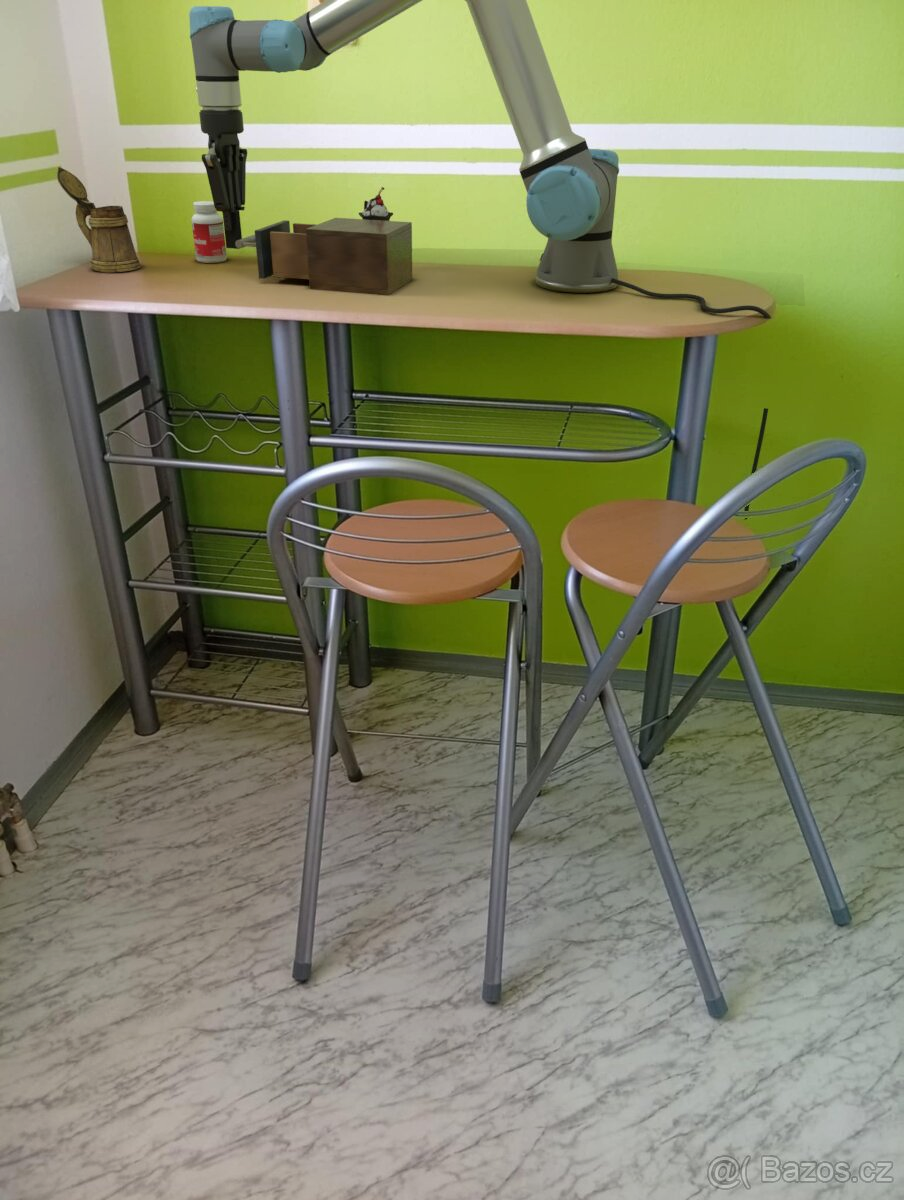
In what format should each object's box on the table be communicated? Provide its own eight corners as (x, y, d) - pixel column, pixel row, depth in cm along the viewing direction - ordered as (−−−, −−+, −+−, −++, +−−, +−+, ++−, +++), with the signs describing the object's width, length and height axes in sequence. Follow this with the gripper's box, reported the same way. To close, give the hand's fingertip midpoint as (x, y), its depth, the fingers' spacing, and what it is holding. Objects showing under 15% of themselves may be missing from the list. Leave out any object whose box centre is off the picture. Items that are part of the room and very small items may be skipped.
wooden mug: (88, 261, 192) (71, 164, 183) (148, 265, 189) (134, 166, 180) (63, 270, 185) (43, 169, 175) (125, 274, 182) (108, 172, 173)
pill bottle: (191, 260, 194) (183, 202, 188) (218, 256, 197) (211, 199, 192) (205, 264, 190) (197, 205, 184) (232, 261, 193) (226, 203, 188)
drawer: (230, 276, 177) (225, 228, 172) (260, 263, 187) (256, 218, 182) (329, 284, 172) (326, 235, 168) (354, 270, 182) (352, 224, 177)
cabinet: (309, 288, 173) (305, 228, 167) (338, 274, 184) (335, 217, 178) (388, 295, 169) (386, 234, 164) (412, 279, 180) (411, 222, 175)
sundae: (393, 271, 186) (391, 188, 179) (359, 270, 186) (355, 188, 179) (395, 264, 192) (393, 184, 184) (362, 264, 192) (359, 183, 185)
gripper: (219, 105, 174) (233, 240, 187) (182, 110, 164) (199, 252, 176) (256, 107, 173) (267, 243, 185) (221, 111, 162) (235, 255, 174)
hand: (234, 247), depth 180 cm, fingers closed
